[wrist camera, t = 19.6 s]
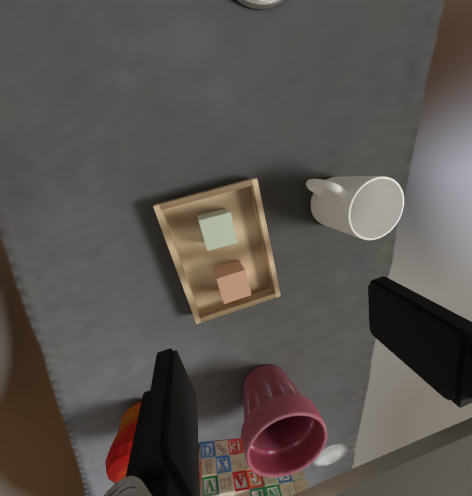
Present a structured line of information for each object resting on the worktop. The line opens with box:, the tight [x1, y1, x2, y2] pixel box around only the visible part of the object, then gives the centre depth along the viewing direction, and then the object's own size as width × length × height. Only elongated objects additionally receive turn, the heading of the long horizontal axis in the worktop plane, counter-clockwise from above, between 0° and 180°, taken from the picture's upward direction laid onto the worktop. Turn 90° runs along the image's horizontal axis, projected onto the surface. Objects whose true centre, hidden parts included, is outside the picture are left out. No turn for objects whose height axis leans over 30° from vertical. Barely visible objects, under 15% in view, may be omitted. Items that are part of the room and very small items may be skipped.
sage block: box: [197, 208, 238, 251], centre depth 33 cm, size 4×4×4 cm
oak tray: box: [153, 178, 281, 324], centre depth 36 cm, size 20×15×3 cm
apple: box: [105, 401, 141, 483], centre depth 39 cm, size 9×8×12 cm
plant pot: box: [241, 364, 327, 477], centre depth 42 cm, size 14×14×13 cm
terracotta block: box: [213, 260, 251, 304], centre depth 36 cm, size 4×4×4 cm
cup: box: [306, 176, 404, 240], centre depth 34 cm, size 8×12×10 cm
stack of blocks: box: [199, 438, 309, 496], centre depth 48 cm, size 21×6×12 cm, turn 81°
